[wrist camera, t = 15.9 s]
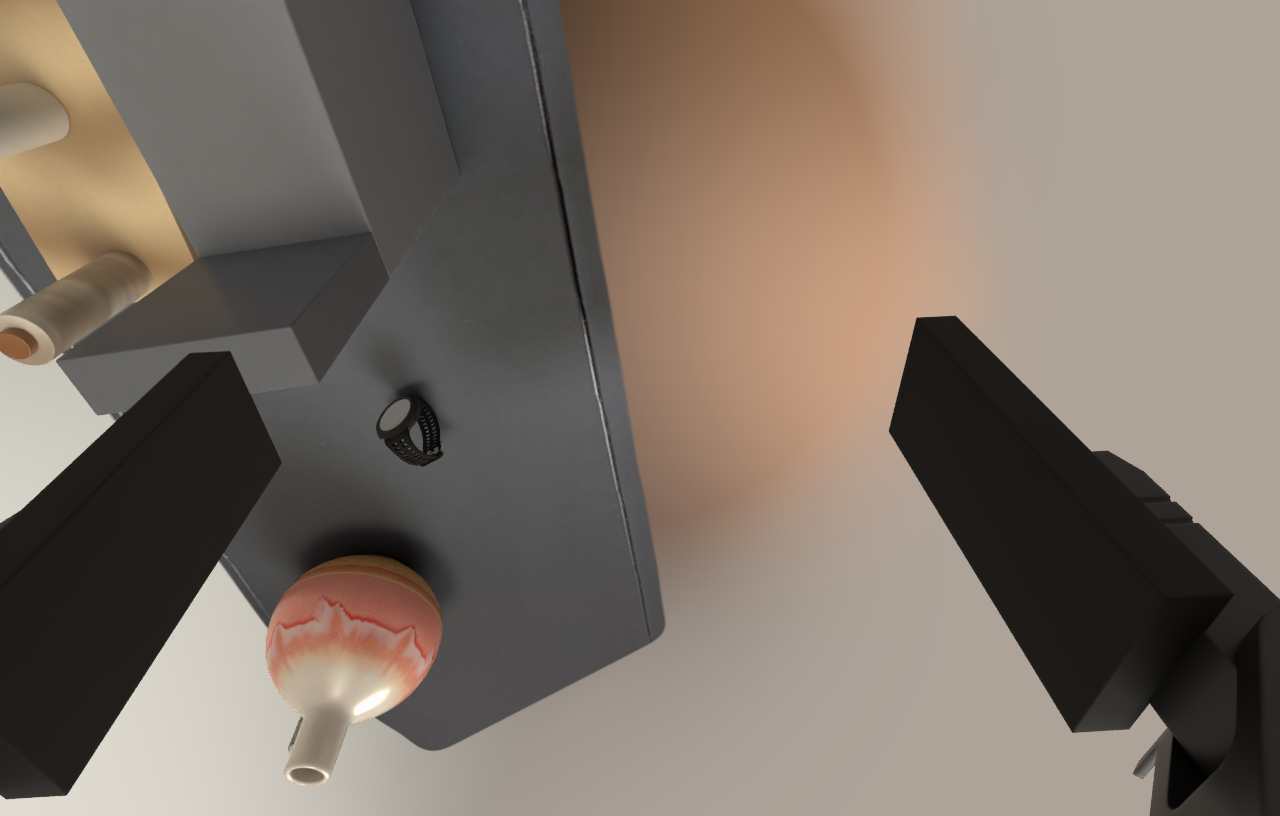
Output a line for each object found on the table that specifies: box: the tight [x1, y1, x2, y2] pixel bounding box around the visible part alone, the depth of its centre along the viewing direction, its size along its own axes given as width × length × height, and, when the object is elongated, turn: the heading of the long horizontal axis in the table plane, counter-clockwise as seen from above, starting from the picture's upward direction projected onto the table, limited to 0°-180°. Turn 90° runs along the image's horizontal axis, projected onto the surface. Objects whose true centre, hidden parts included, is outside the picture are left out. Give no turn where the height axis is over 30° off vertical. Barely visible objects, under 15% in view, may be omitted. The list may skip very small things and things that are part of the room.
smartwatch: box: [376, 394, 444, 467], centre depth 47 cm, size 4×5×5 cm
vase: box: [266, 554, 442, 786], centre depth 52 cm, size 14×14×18 cm
